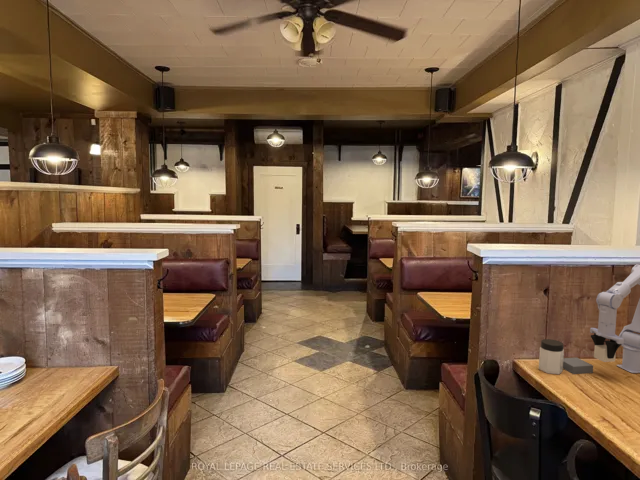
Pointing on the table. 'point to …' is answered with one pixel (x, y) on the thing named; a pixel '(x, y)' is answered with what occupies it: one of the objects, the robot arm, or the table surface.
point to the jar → (551, 356)
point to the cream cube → (602, 353)
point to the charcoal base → (577, 366)
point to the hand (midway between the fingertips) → (604, 355)
